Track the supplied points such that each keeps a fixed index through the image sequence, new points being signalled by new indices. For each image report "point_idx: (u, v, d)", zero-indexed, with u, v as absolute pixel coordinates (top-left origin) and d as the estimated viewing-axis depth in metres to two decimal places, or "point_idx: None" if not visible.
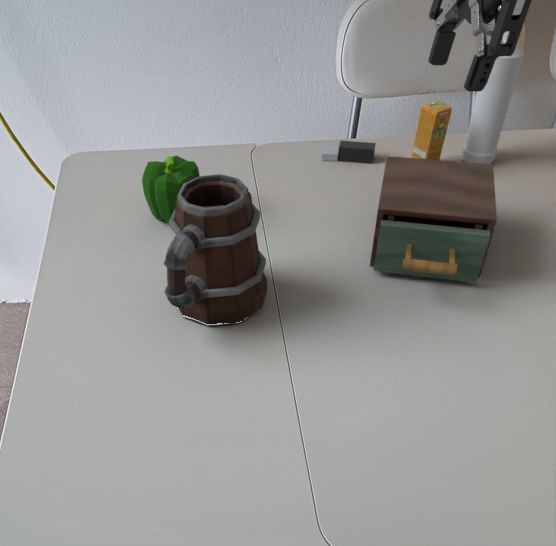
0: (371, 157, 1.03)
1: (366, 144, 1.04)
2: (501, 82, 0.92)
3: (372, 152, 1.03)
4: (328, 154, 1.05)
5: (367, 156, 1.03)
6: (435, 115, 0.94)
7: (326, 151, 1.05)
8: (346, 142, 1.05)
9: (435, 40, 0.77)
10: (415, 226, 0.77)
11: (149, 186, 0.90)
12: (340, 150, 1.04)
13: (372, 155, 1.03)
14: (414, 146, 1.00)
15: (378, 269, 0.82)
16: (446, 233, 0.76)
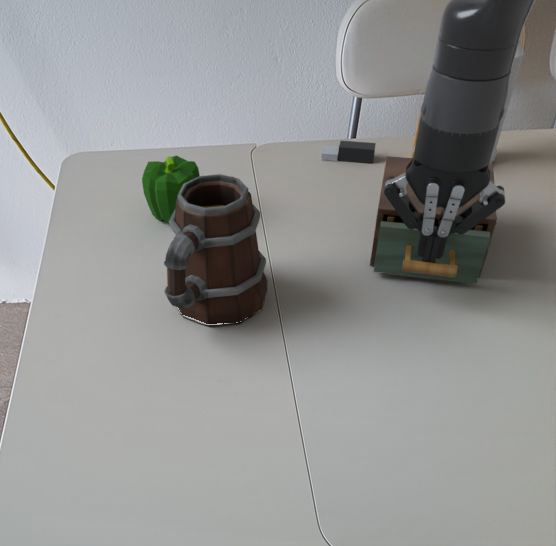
0: (371, 157, 1.03)
1: (366, 144, 1.04)
2: None
3: (372, 152, 1.03)
4: (328, 154, 1.05)
5: (367, 156, 1.03)
6: None
7: (326, 151, 1.05)
8: (346, 142, 1.05)
9: (428, 243, 0.73)
10: None
11: (149, 185, 0.90)
12: (340, 150, 1.04)
13: (372, 155, 1.03)
14: (414, 146, 1.00)
15: (378, 270, 0.82)
16: None
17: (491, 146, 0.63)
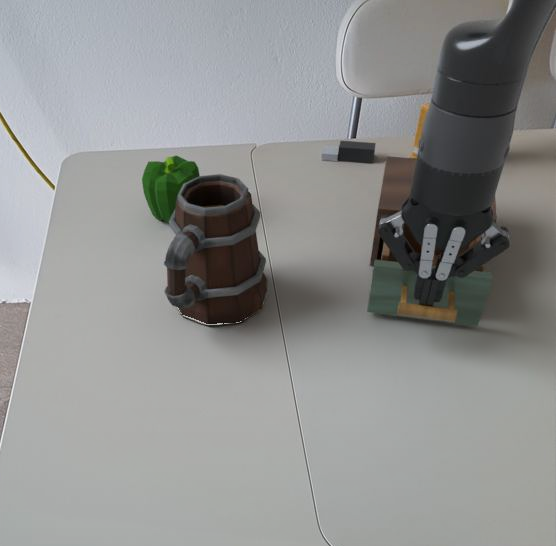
0: (371, 157, 1.03)
1: (366, 144, 1.04)
2: None
3: (372, 152, 1.03)
4: (328, 154, 1.05)
5: (367, 156, 1.03)
6: None
7: (326, 151, 1.05)
8: (346, 142, 1.05)
9: (426, 286, 0.68)
10: None
11: (149, 186, 0.90)
12: (340, 150, 1.04)
13: (372, 155, 1.03)
14: (414, 146, 1.00)
15: (372, 311, 0.76)
16: None
17: (495, 186, 0.58)
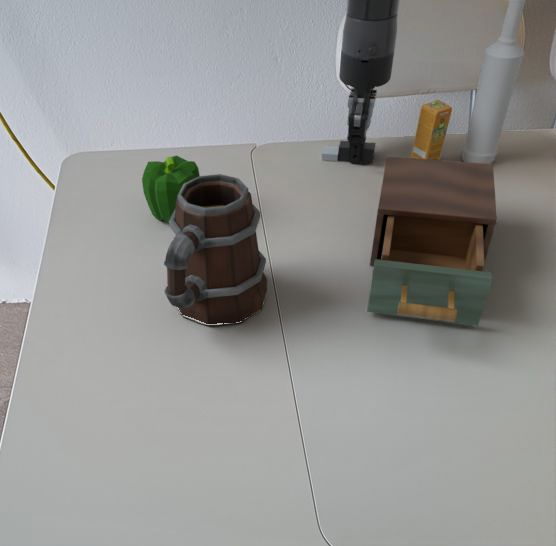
0: (371, 157, 1.03)
1: (366, 144, 1.04)
2: (501, 82, 0.92)
3: (372, 152, 1.03)
4: (328, 154, 1.05)
5: (367, 156, 1.03)
6: (435, 115, 0.94)
7: (326, 151, 1.05)
8: (346, 142, 1.05)
9: (363, 146, 1.02)
10: (411, 267, 0.71)
11: (149, 186, 0.90)
12: (340, 150, 1.04)
13: (372, 155, 1.03)
14: (414, 146, 1.00)
15: (372, 310, 0.76)
16: (445, 275, 0.70)
17: None
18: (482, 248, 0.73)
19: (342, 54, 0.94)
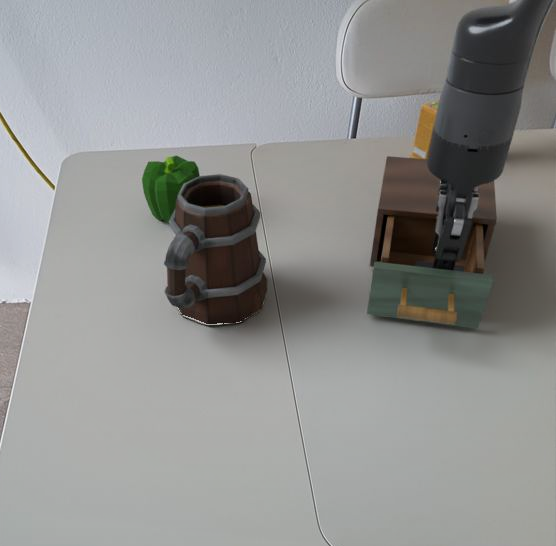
0: None
1: None
2: None
3: None
4: None
5: None
6: (435, 115, 0.94)
7: None
8: (423, 264, 0.77)
9: None
10: (411, 269, 0.71)
11: (149, 185, 0.90)
12: None
13: None
14: (414, 146, 1.00)
15: (371, 313, 0.76)
16: (445, 277, 0.70)
17: None
18: (482, 250, 0.73)
19: (436, 137, 0.64)
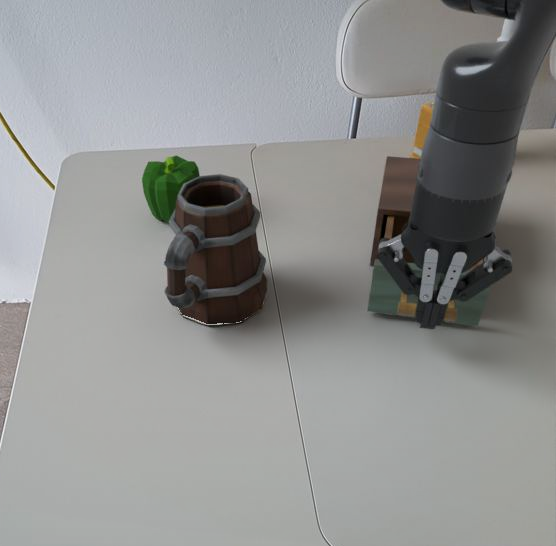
0: None
1: None
2: None
3: None
4: None
5: None
6: None
7: None
8: None
9: (427, 310, 0.66)
10: (411, 266, 0.71)
11: (149, 186, 0.90)
12: None
13: None
14: (414, 146, 1.00)
15: (372, 310, 0.76)
16: None
17: (497, 211, 0.56)
18: None
19: None
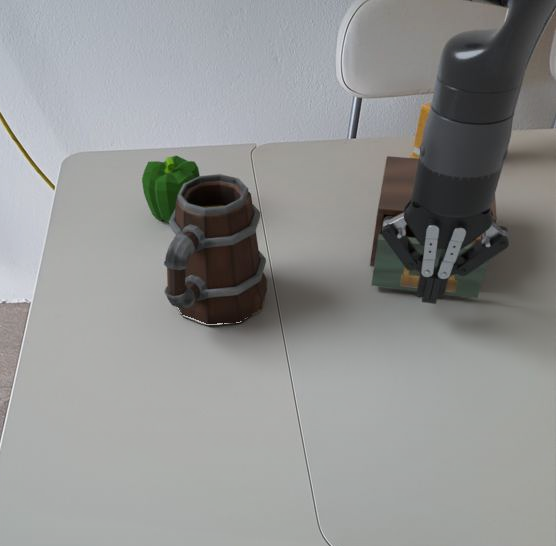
0: None
1: None
2: None
3: None
4: None
5: None
6: None
7: None
8: None
9: (428, 284, 0.70)
10: (414, 241, 0.75)
11: (149, 185, 0.90)
12: None
13: None
14: (414, 146, 1.00)
15: (376, 284, 0.80)
16: None
17: (494, 188, 0.60)
18: None
19: None
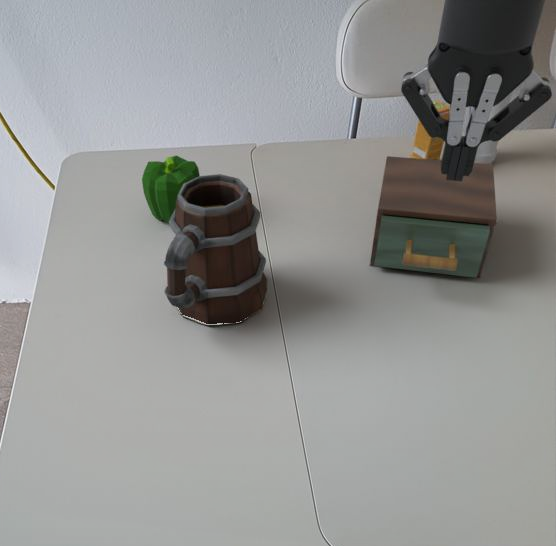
0: None
1: None
2: None
3: None
4: None
5: None
6: None
7: None
8: None
9: (454, 156, 0.60)
10: (415, 221, 0.78)
11: (149, 185, 0.90)
12: None
13: None
14: (414, 146, 1.00)
15: (379, 264, 0.83)
16: (446, 228, 0.77)
17: (537, 17, 0.51)
18: None
19: None
